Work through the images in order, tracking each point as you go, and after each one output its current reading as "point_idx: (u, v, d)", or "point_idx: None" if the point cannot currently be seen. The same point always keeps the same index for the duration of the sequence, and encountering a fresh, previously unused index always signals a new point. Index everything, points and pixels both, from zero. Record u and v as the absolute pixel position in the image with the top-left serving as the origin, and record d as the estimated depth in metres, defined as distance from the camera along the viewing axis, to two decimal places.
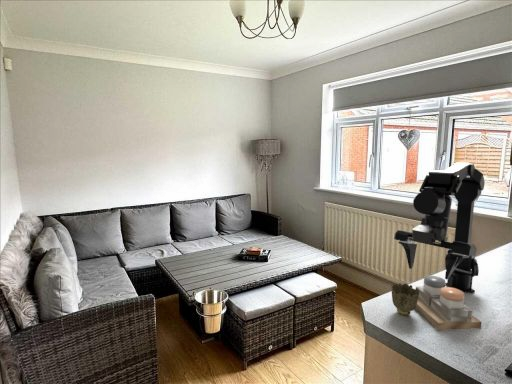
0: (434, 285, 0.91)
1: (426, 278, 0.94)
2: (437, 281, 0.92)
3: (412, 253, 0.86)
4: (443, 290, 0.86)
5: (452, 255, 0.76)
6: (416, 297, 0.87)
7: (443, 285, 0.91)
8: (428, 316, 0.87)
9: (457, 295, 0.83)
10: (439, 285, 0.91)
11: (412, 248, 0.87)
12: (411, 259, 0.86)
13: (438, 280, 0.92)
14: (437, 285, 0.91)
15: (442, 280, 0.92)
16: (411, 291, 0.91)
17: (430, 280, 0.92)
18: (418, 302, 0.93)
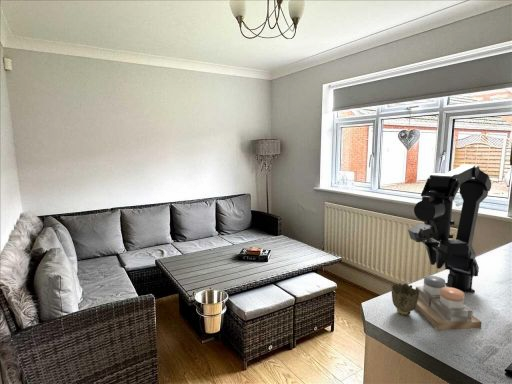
0: (434, 285, 0.91)
1: (426, 278, 0.94)
2: (437, 281, 0.92)
3: (433, 251, 0.94)
4: (443, 290, 0.86)
5: (434, 248, 0.89)
6: (416, 297, 0.87)
7: (443, 285, 0.91)
8: (428, 316, 0.87)
9: (457, 295, 0.83)
10: (439, 285, 0.91)
11: (434, 246, 0.94)
12: (432, 256, 0.94)
13: (438, 280, 0.92)
14: (437, 285, 0.91)
15: (442, 280, 0.92)
16: (411, 291, 0.91)
17: (430, 280, 0.92)
18: (418, 302, 0.93)
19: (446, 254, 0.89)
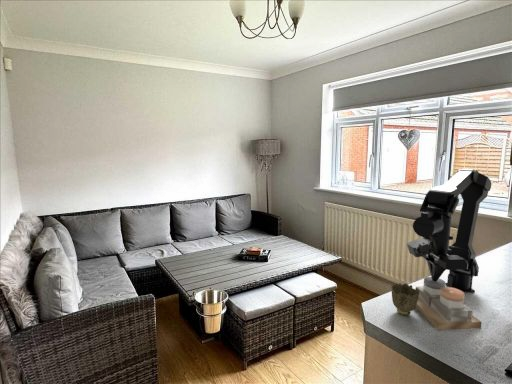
0: (434, 286, 0.91)
1: (426, 279, 0.94)
2: (437, 283, 0.92)
3: None
4: (443, 290, 0.86)
5: (430, 262, 0.91)
6: (416, 297, 0.87)
7: (443, 286, 0.91)
8: (428, 316, 0.87)
9: (457, 295, 0.83)
10: (439, 286, 0.91)
11: None
12: None
13: (438, 282, 0.92)
14: (437, 286, 0.91)
15: (442, 281, 0.92)
16: (411, 291, 0.91)
17: (430, 282, 0.92)
18: (418, 302, 0.93)
19: (442, 267, 0.91)
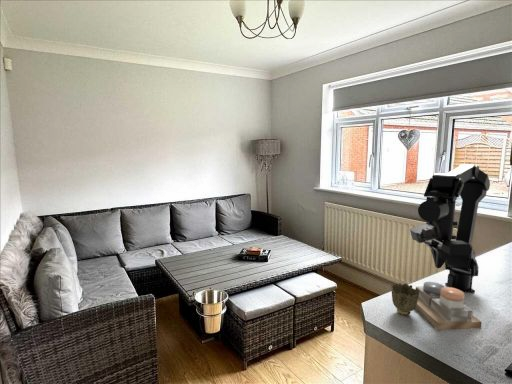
0: (433, 291, 0.91)
1: (425, 284, 0.94)
2: (436, 288, 0.92)
3: None
4: (443, 290, 0.86)
5: (434, 248, 0.89)
6: (416, 297, 0.87)
7: None
8: (428, 316, 0.87)
9: (457, 295, 0.83)
10: (438, 292, 0.91)
11: None
12: None
13: (437, 287, 0.93)
14: (436, 292, 0.91)
15: (441, 286, 0.93)
16: (411, 291, 0.91)
17: (429, 287, 0.92)
18: (418, 302, 0.93)
19: (446, 254, 0.89)
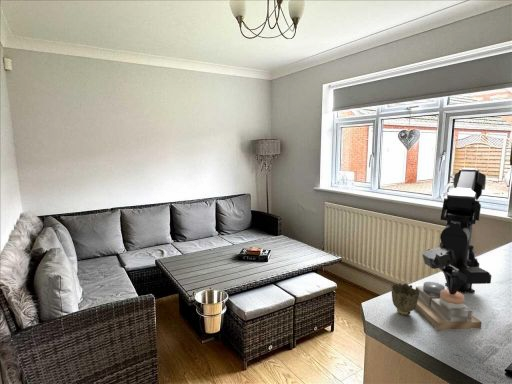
0: (433, 291, 0.91)
1: (425, 284, 0.94)
2: (436, 288, 0.92)
3: None
4: (443, 292, 0.86)
5: (448, 274, 0.83)
6: (416, 297, 0.87)
7: None
8: (428, 316, 0.87)
9: (457, 298, 0.83)
10: (438, 292, 0.91)
11: None
12: None
13: (437, 287, 0.93)
14: (436, 292, 0.91)
15: (441, 286, 0.93)
16: (411, 291, 0.91)
17: (429, 287, 0.92)
18: (418, 302, 0.93)
19: (461, 279, 0.83)
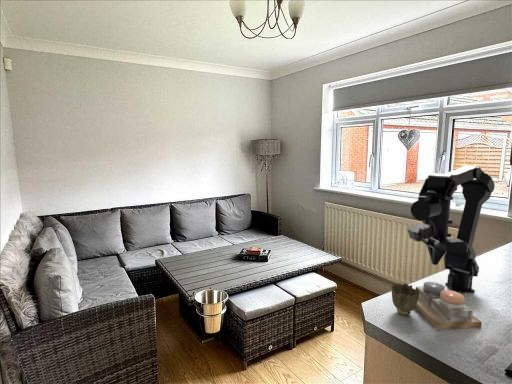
0: (433, 291, 0.91)
1: (425, 284, 0.94)
2: (436, 288, 0.92)
3: None
4: (443, 293, 0.86)
5: (430, 246, 0.92)
6: (416, 297, 0.87)
7: None
8: (428, 316, 0.87)
9: (457, 298, 0.83)
10: (438, 292, 0.91)
11: None
12: None
13: (437, 287, 0.93)
14: (436, 292, 0.91)
15: (441, 286, 0.93)
16: (411, 291, 0.91)
17: (429, 287, 0.92)
18: (418, 302, 0.93)
19: (442, 251, 0.93)
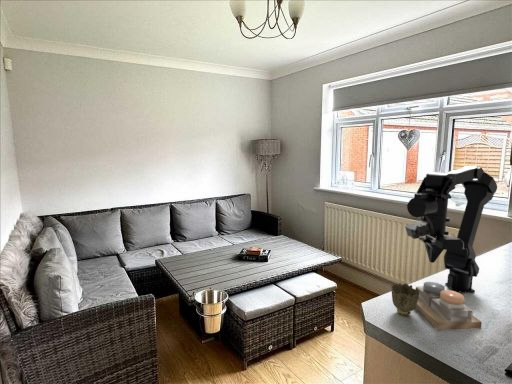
0: (433, 291, 0.91)
1: (425, 284, 0.94)
2: (436, 288, 0.92)
3: None
4: (443, 293, 0.86)
5: (427, 243, 0.94)
6: (416, 297, 0.87)
7: None
8: (428, 316, 0.87)
9: (457, 298, 0.83)
10: (438, 292, 0.91)
11: None
12: None
13: (437, 287, 0.93)
14: (436, 292, 0.91)
15: (441, 286, 0.93)
16: (411, 291, 0.91)
17: (429, 287, 0.92)
18: (418, 302, 0.93)
19: (439, 249, 0.94)
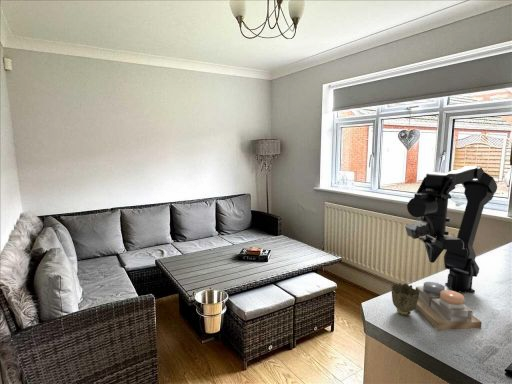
0: (433, 291, 0.91)
1: (425, 284, 0.94)
2: (436, 288, 0.92)
3: None
4: (443, 293, 0.86)
5: (427, 243, 0.94)
6: (416, 297, 0.87)
7: None
8: (428, 316, 0.87)
9: (457, 298, 0.83)
10: (438, 292, 0.91)
11: None
12: None
13: (437, 287, 0.93)
14: (436, 292, 0.91)
15: (441, 286, 0.93)
16: (411, 291, 0.91)
17: (429, 287, 0.92)
18: (418, 302, 0.93)
19: (439, 249, 0.94)
